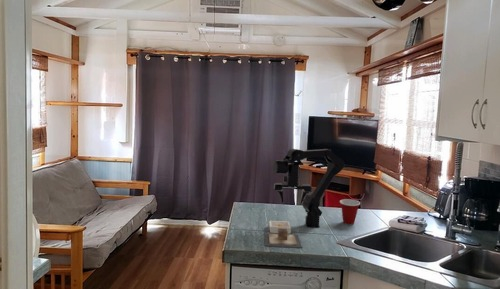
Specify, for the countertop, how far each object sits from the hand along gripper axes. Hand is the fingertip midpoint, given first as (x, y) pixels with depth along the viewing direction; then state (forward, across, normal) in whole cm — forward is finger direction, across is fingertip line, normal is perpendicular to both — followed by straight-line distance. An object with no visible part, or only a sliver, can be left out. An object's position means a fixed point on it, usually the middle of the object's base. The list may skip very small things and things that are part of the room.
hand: (291, 203), depth 188 cm
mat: (+12, +6, +22) cm, 26 cm away
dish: (+12, +6, +6) cm, 15 cm away
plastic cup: (+12, -33, -12) cm, 37 cm away
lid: (+12, +6, +22) cm, 25 cm away
